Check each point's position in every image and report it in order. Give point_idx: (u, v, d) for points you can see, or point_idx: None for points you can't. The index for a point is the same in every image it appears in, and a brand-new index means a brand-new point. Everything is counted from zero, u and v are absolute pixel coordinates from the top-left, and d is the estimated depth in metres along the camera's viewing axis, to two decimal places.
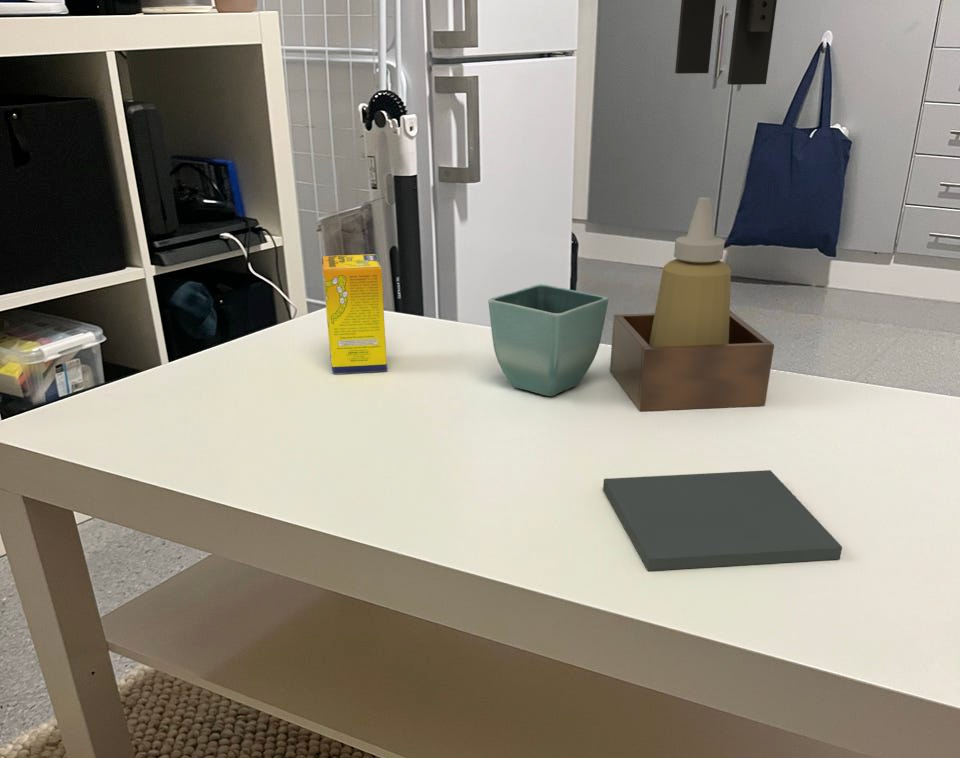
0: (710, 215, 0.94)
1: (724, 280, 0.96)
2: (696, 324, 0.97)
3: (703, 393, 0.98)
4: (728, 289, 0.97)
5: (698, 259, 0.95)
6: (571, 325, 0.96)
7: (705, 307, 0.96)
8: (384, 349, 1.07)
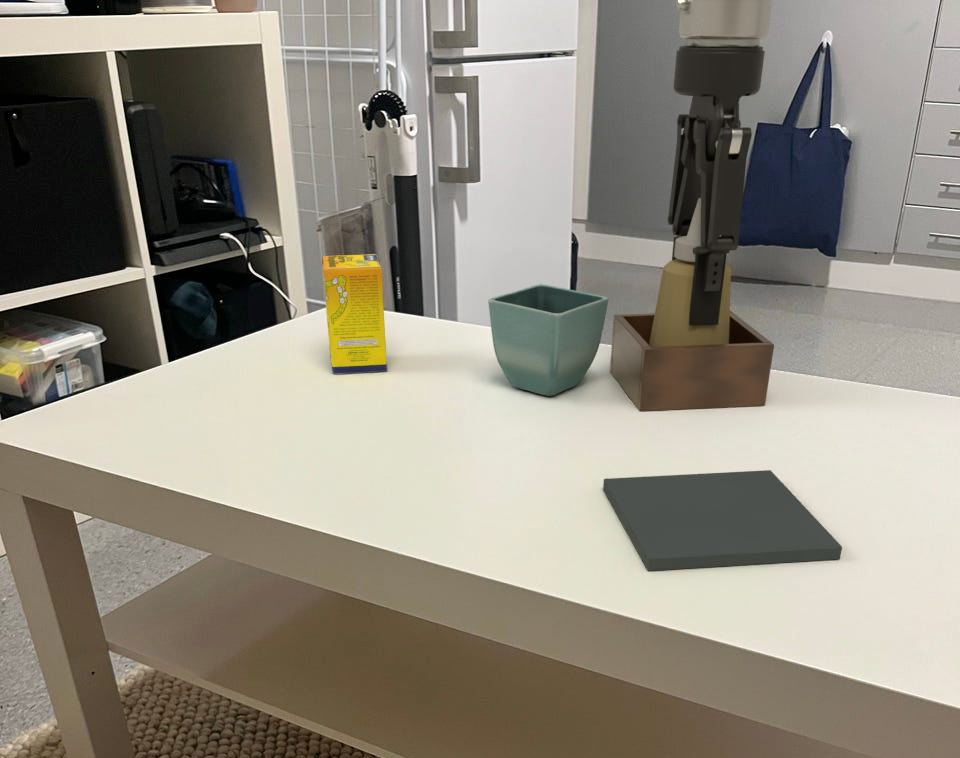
0: None
1: (724, 280, 0.96)
2: None
3: (703, 393, 0.98)
4: (728, 289, 0.97)
5: None
6: (571, 325, 0.96)
7: None
8: (384, 349, 1.07)
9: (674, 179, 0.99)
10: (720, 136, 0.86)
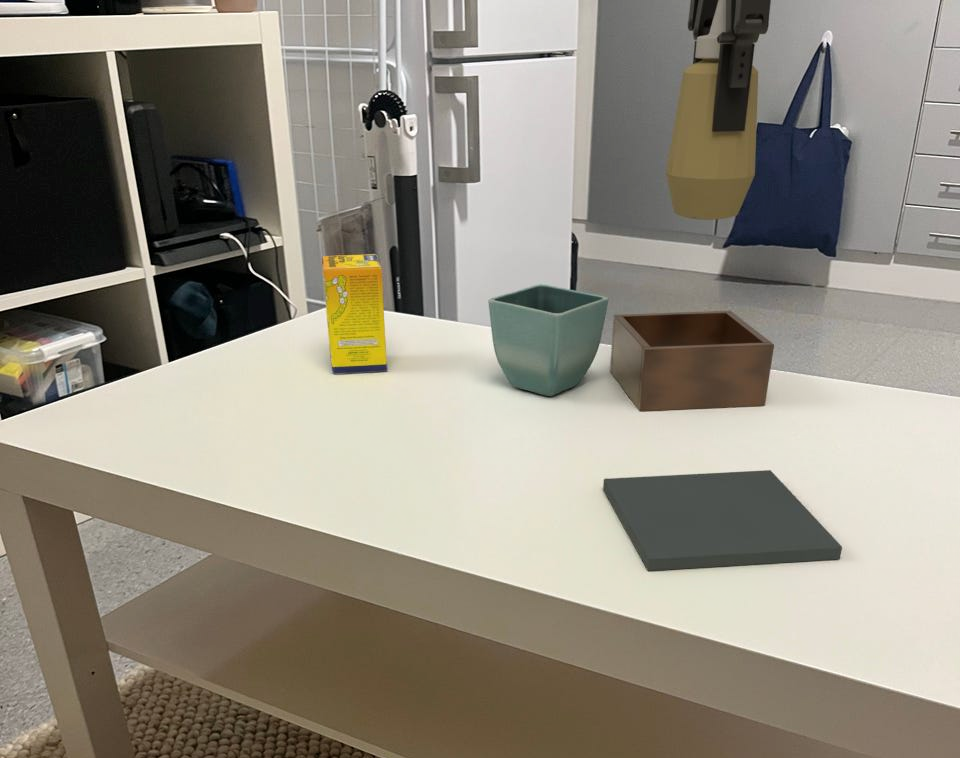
0: None
1: (751, 80, 0.86)
2: (720, 131, 0.87)
3: (703, 393, 0.98)
4: (755, 92, 0.88)
5: None
6: (571, 325, 0.96)
7: None
8: (384, 349, 1.07)
9: None
10: None
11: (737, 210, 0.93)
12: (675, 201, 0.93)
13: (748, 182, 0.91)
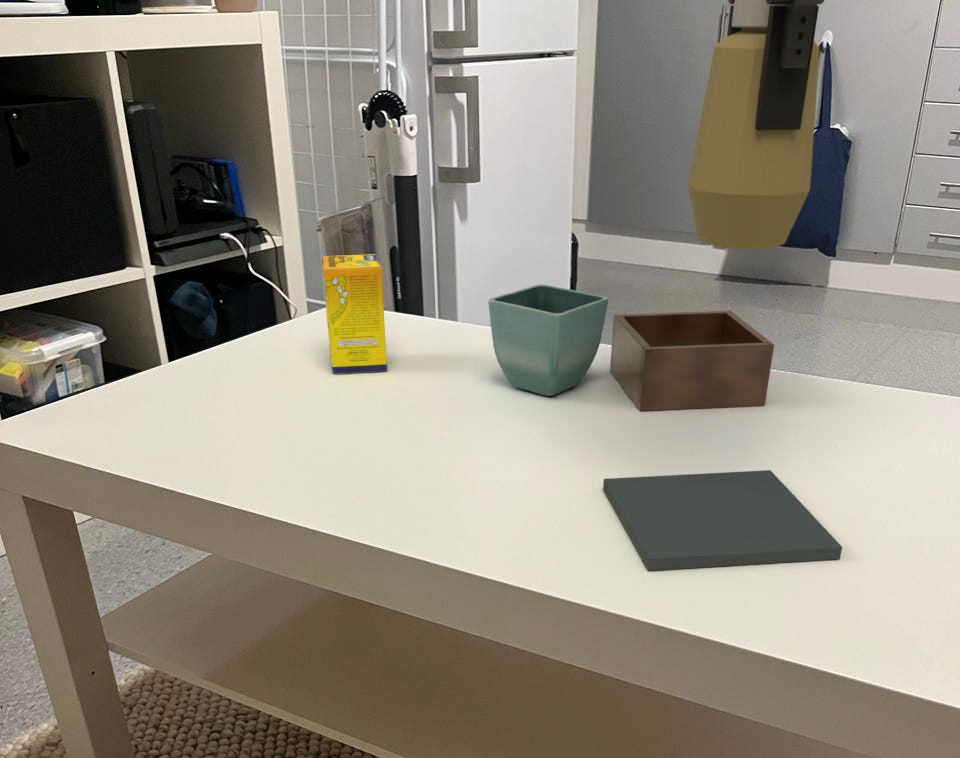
0: None
1: (811, 59, 0.62)
2: None
3: (703, 393, 0.98)
4: (815, 76, 0.63)
5: None
6: (571, 325, 0.96)
7: None
8: (384, 349, 1.07)
9: None
10: None
11: (785, 237, 0.68)
12: (700, 224, 0.68)
13: (802, 200, 0.66)
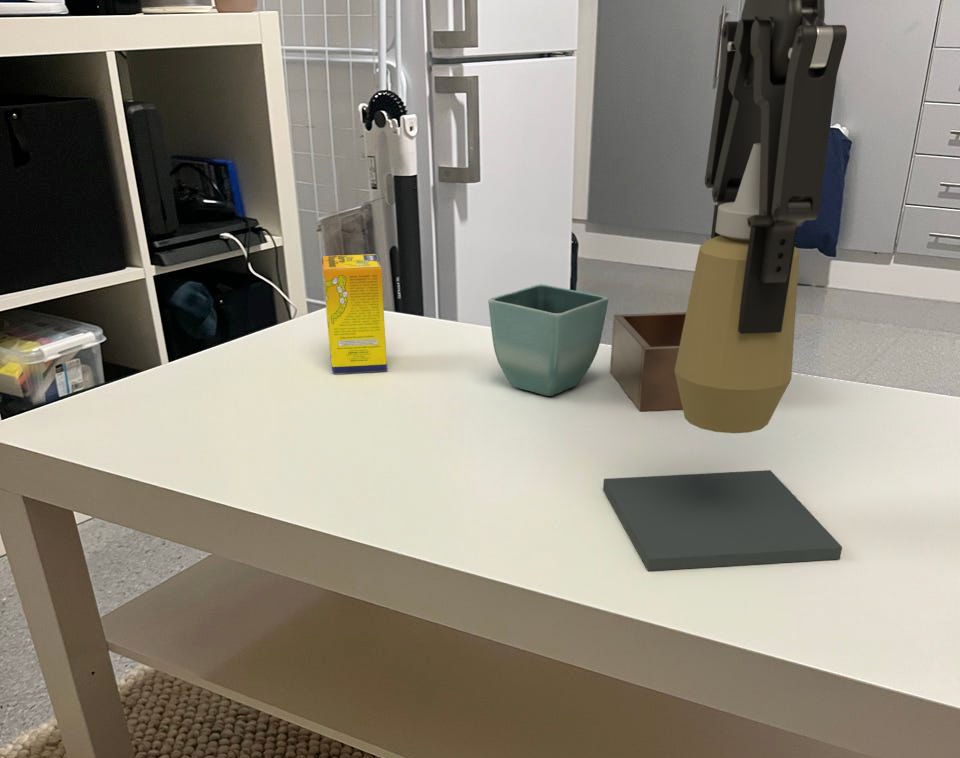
0: None
1: None
2: None
3: None
4: (795, 280, 0.66)
5: None
6: (571, 325, 0.96)
7: None
8: (384, 349, 1.07)
9: (715, 120, 0.68)
10: (797, 39, 0.55)
11: (767, 420, 0.71)
12: (686, 407, 0.71)
13: (783, 389, 0.69)
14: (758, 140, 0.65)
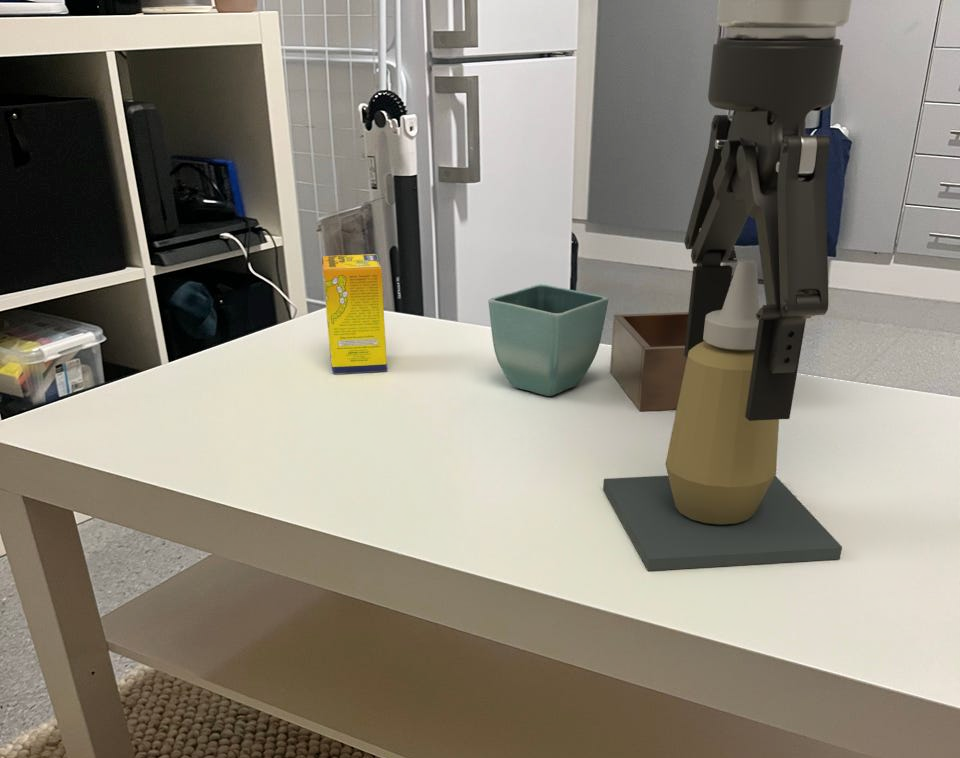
0: (755, 285, 0.67)
1: None
2: (734, 434, 0.69)
3: None
4: None
5: (738, 346, 0.68)
6: (571, 325, 0.96)
7: None
8: (384, 349, 1.07)
9: (699, 197, 0.72)
10: (783, 147, 0.57)
11: (754, 511, 0.75)
12: (677, 498, 0.75)
13: (768, 483, 0.73)
14: (736, 225, 0.70)
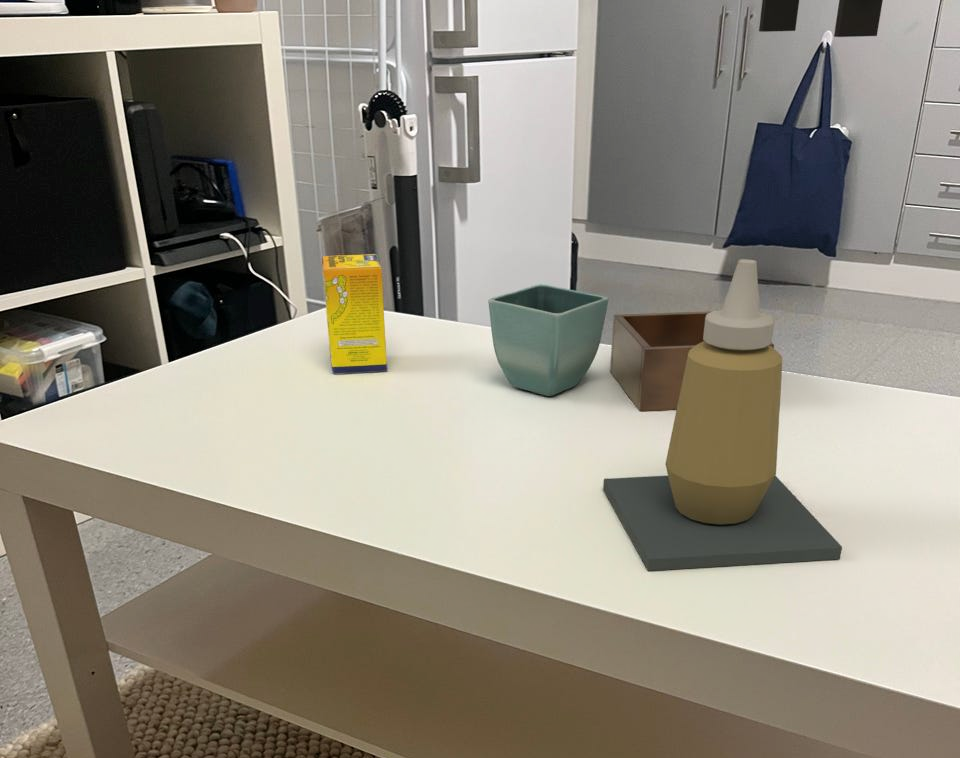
0: (755, 285, 0.67)
1: (774, 375, 0.68)
2: (734, 434, 0.69)
3: None
4: (779, 385, 0.70)
5: (738, 346, 0.68)
6: (571, 325, 0.96)
7: (747, 412, 0.69)
8: (384, 349, 1.07)
9: None
10: None
11: (754, 511, 0.75)
12: (677, 498, 0.75)
13: (768, 483, 0.73)
14: None
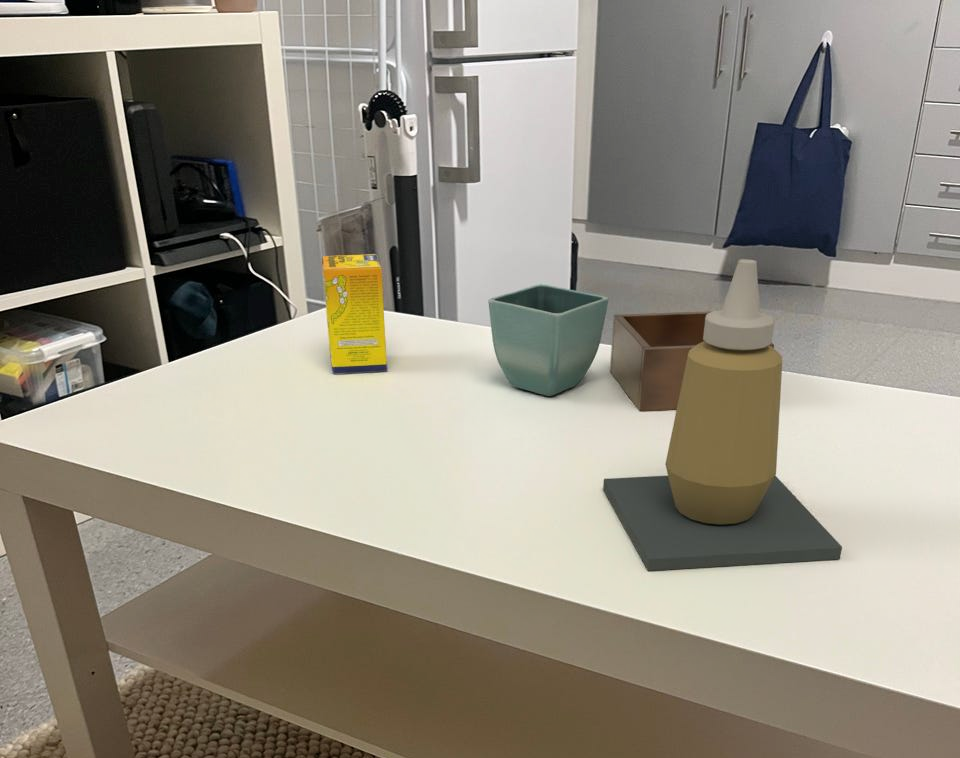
0: (755, 285, 0.67)
1: (774, 375, 0.68)
2: (734, 434, 0.69)
3: None
4: (779, 385, 0.70)
5: (738, 346, 0.68)
6: (571, 325, 0.96)
7: (747, 412, 0.69)
8: (384, 349, 1.07)
9: None
10: None
11: (754, 511, 0.75)
12: (677, 498, 0.75)
13: (768, 483, 0.73)
14: None
